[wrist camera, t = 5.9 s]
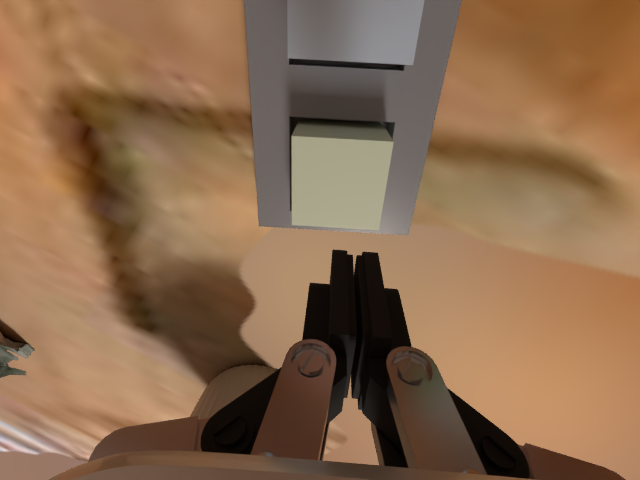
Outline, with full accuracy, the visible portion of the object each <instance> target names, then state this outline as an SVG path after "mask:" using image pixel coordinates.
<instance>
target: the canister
mask: <svg viewBox="0 0 640 480" xmlns="http://www.w3.org/2000/svg"><path fill="white" fill-rule="evenodd" d="M277 370H278V369H274V368H272V367H266V366H264V365H262V366H259V365H246V366H244V365H241V366H239V367H233V368H232V369H227V370H226V371H224V372H222V373H220V374H219V375H218V376H217V377H215V378H214V379H213V380H212V381H211V382H210V384H209V385H208V386H207V388H206V389H205V390H204V392H203V394H202V395H201V397H200V399H199V401H198V403H197V405H196V406H195V408H194V410H193V412H192V414H191V416H190V417H194V416H199V419H204V418H211V417H212V416H213V415H214V414H215V413H216V412H217V411H219V410H220V409H222V408H223V407H224V406H226V405H227V404H229V403H230V402H232V401H233V400H235V399H236V398H238V397H239V396H240V395H242V394H243V393H245V392H246V391H248V390H249V389H251V388H252V387H254V386H255V385H256V384H258V383H259V382H261V381H262V380H264V379H265V378H267V377H268V376H270V375H271V374H272V373H274V372H275V371H277Z"/></svg>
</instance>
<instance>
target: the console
mask: <svg viewBox="0 0 640 480" xmlns="http://www.w3.org/2000/svg"><path fill="white" fill-rule="evenodd" d="M461 1H462V0H424V6H423V12H422V17H421V23H420V29H419V34H418V40H417V45H416V51H415V57H414V62H413V65H401V64H383V63H364V62H346V61H328V60H309V59H291V58H288V32H287V0H244V7H245V22H246V37H247V52H248V67H249V82H250V98H251V113H252V128H253V143H254V158H255V173H256V188H257V204H258V219H259V226H264V227H282V228H299V229H314V230H331V231H348V232H365V233H381V234H399V235H408V234H409V229H410V225H411V221H412V216H413V212H414V207H415V203H416V199H417V194H418V190H419V186H420V181H421V177H422V172H423V168H424V164H425V159H426V155H427V150H428V146H429V142H430V137H431V133H432V129H433V124H434V120H435V115H436V111H437V107H438V102H439V98H440V93H441V89H442V85H443V80H444V76H445V72H446V67H447V63H448V58H449V54H450V50H451V45H452V41H453V36H454V32H455V28H456V23H457V19H458V15H459V10H460V6H461ZM299 119H311V120H329V121H347V122H364V123H382V124H383V125H384V126H385V128H386V130H387V131H388V133H389V135H390V136H391V138H392V140H393V141H394V143H393V149H392V155H391V161H390V167H389V173H388V179H387V185H386V191H385V197H384V203H383V209H382V215H381V221H380V227H379V230H365V229H349V228H332V227H315V226H298V225H292V134H293V132H294V130H295V128H296V125H297V123H298V121H299Z"/></svg>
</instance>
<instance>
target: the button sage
mask: <svg viewBox="0 0 640 480" xmlns="http://www.w3.org/2000/svg"><path fill="white" fill-rule="evenodd" d="M393 143H394V141H393V140H392V138H391V136H390V135H389V133H388V131H387V130H386V128H385V126H384V125H383V124H382V123H364V122H347V121H329V120H311V119H299V121H298V123H297V125H296V128H295V130H294V132H293V134H292V225H298V226H315V227H332V228H349V229H365V230H379V227H380V221H381V215H382V209H383V203H384V197H385V191H386V185H387V179H388V173H389V167H390V161H391V155H392V149H393Z"/></svg>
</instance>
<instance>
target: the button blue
mask: <svg viewBox="0 0 640 480" xmlns="http://www.w3.org/2000/svg"><path fill="white" fill-rule="evenodd" d="M423 6H424V0H287V32H288V58H291V59H309V60H328V61H346V62H364V63H383V64H401V65H413V62H414V57H415V51H416V45H417V40H418V34H419V29H420V23H421V17H422V12H423Z"/></svg>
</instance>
